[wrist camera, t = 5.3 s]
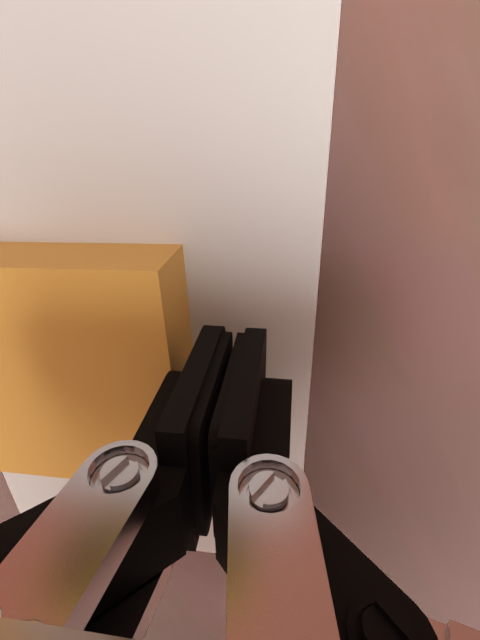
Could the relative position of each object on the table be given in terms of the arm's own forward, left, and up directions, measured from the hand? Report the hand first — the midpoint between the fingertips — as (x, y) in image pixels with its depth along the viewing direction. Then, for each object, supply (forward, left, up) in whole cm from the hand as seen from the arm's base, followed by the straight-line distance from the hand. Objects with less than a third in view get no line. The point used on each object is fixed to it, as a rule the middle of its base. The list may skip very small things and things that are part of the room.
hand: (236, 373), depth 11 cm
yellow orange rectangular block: (0, +6, -1) cm, 7 cm away
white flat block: (0, +4, -4) cm, 5 cm away
